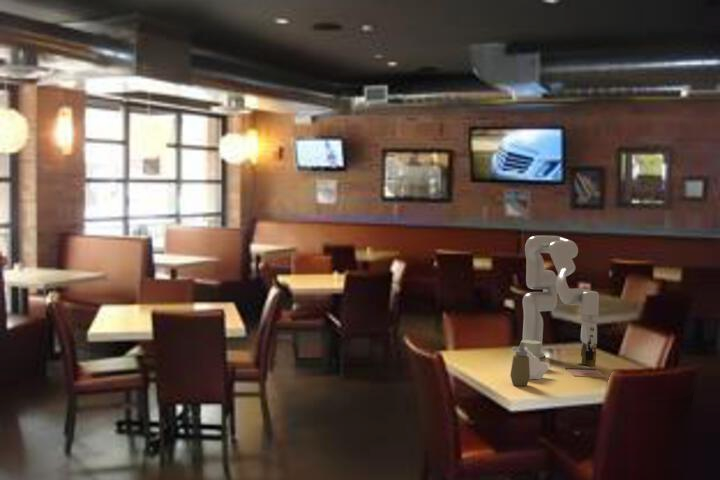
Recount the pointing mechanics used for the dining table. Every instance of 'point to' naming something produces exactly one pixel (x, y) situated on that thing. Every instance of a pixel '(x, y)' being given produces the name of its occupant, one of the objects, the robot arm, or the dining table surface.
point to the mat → (585, 373)
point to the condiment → (585, 362)
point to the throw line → (580, 368)
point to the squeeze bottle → (520, 367)
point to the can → (533, 347)
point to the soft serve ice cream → (535, 366)
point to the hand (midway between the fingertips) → (586, 357)
